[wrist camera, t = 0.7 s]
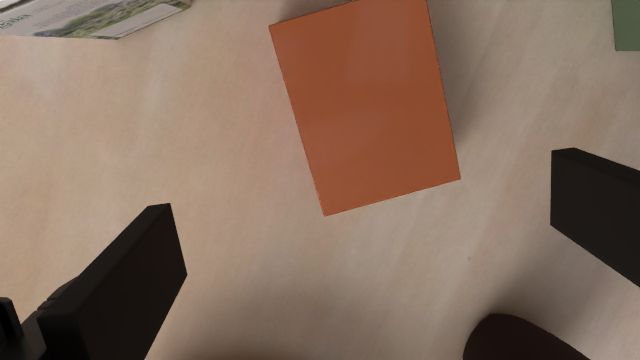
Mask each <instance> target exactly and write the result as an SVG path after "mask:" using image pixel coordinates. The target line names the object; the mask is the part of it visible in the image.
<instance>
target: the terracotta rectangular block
mask: <svg viewBox="0 0 640 360" xmlns="http://www.w3.org/2000/svg"><path fill="white" fill-rule="evenodd" d="M269 30H270V34H271V37H272V40H273V44H274V47H275V51H276V54H277V57H278V61H279V64H280V68H281V71H282V74H283V78H284V81H285V85H286V88H287V92H288V95H289V98H290V102H291V105H292V109H293V112H294V115H295V119H296V122H297V126H298V129H299V132H300V136H301V139H302V143H303V146H304V150H305V153H306V156H307V160H308V163H309V167H310V170H311V173H312V177H313V180H314V184H315V187H316V191H317V194H318V197H319V201H320V204H321V208H322V211H323V214H324V216H328V215H332V214H336V213H339V212H343V211H347V210H350V209H354V208H358V207H361V206H365V205H369V204H372V203H376V202H379V201H383V200H387V199H390V198H394V197H398V196H401V195H405V194H409V193H412V192H416V191H420V190H423V189H427V188H430V187H434V186H438V185H441V184H445V183H449V182H452V181H456V180H460V179H461V177H460V172H459V166H458V161H457V156H456V151H455V146H454V141H453V135H452V130H451V125H450V120H449V115H448V110H447V104H446V99H445V94H444V89H443V84H442V79H441V73H440V68H439V63H438V58H437V53H436V48H435V42H434V37H433V32H432V27H431V22H430V17H429V11H428V6H427V1H426V0H355V1H352V2H348V3H345V4H341V5H338V6H335V7H331V8H328V9H324V10H321V11H317V12H314V13H311V14H307V15H304V16H300V17H297V18H293V19H290V20H287V21H283V22H280V23H276V24H273V25H269Z"/></svg>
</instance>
